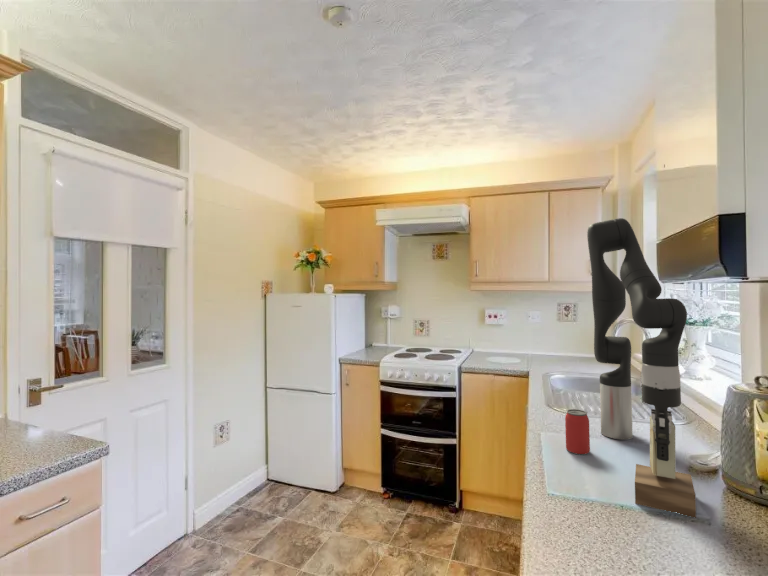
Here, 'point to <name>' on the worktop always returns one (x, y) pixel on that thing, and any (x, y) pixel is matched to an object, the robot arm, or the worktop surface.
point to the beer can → (577, 432)
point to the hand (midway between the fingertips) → (662, 454)
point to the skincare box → (656, 465)
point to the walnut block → (665, 491)
